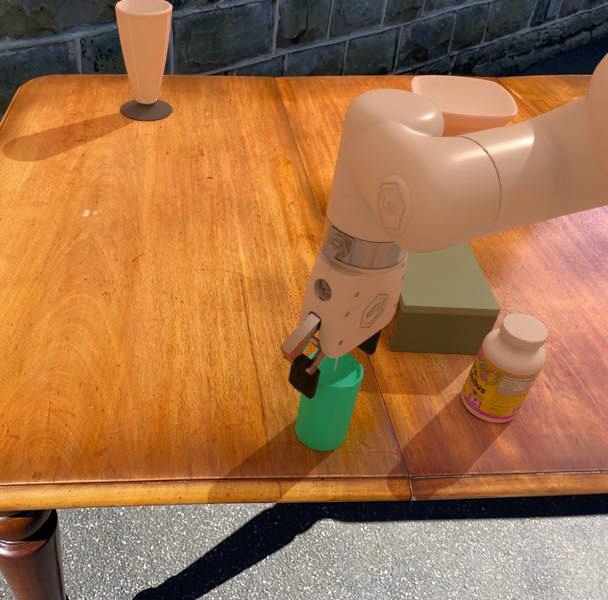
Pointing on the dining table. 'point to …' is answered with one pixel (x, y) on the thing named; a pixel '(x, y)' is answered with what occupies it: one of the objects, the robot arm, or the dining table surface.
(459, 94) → the bowl
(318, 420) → the candle
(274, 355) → the dining table surface
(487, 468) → the dining table surface
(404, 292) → the shelf
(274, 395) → the dining table surface
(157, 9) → the cup
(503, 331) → the supplement bottle
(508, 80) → the dining table surface
